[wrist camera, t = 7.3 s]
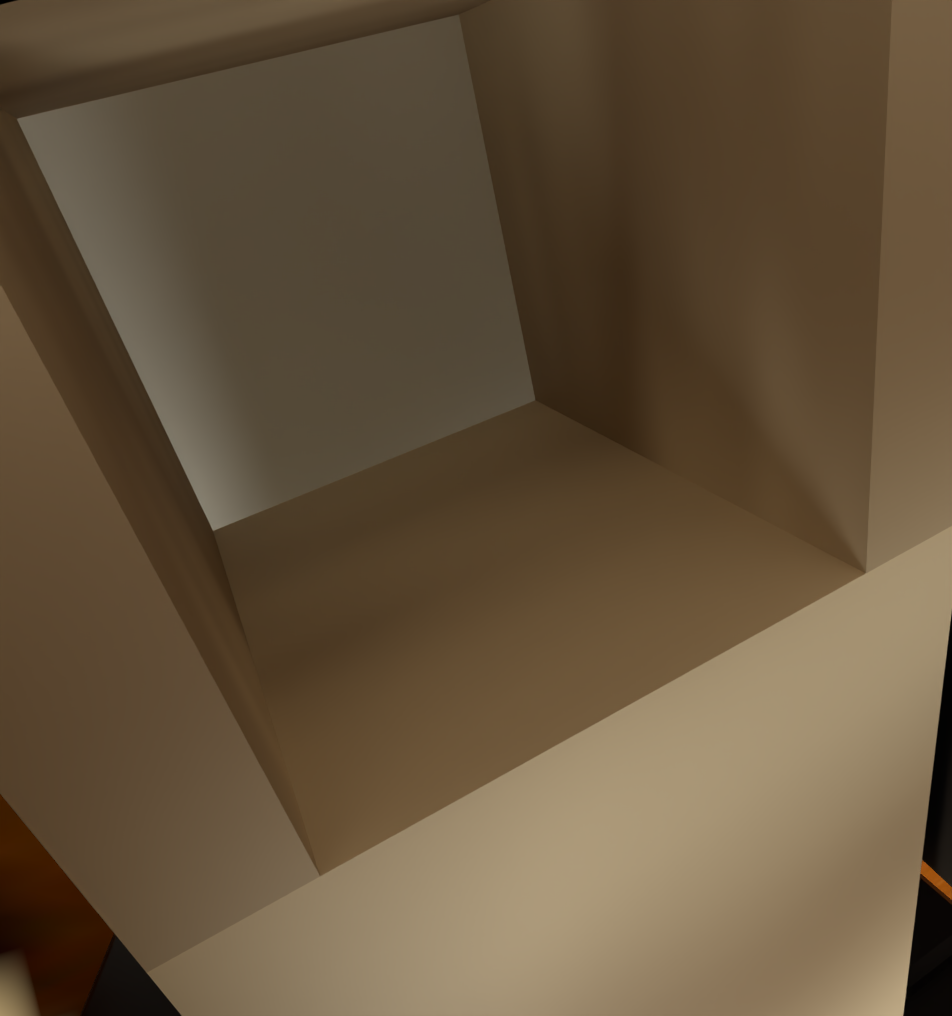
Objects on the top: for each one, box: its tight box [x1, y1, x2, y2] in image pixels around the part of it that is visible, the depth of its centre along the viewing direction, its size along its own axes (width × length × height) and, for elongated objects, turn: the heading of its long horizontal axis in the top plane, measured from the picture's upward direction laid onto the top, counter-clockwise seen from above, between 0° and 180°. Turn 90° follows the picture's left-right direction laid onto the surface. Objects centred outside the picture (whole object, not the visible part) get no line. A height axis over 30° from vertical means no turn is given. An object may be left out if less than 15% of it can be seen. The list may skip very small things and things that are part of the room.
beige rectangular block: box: [0, 0, 952, 1016], centre depth 6 cm, size 12×5×4 cm, turn 13°
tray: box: [17, 15, 535, 531], centre depth 9 cm, size 16×9×4 cm, turn 13°
